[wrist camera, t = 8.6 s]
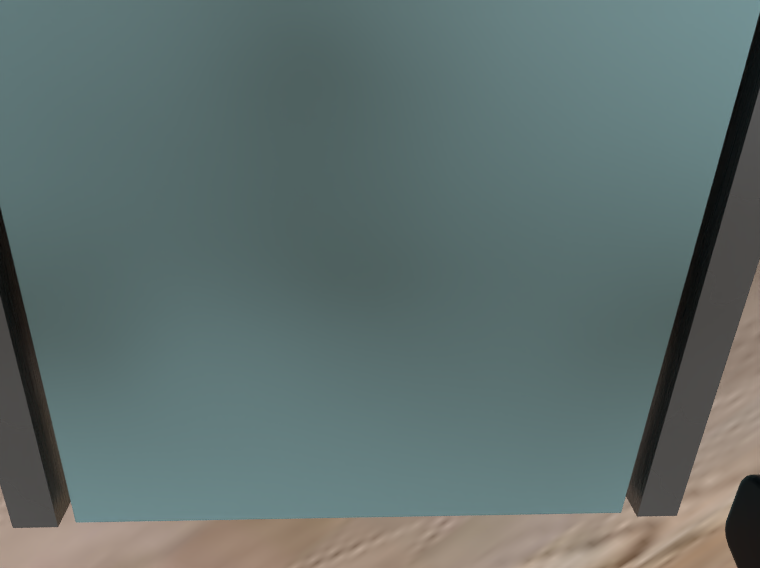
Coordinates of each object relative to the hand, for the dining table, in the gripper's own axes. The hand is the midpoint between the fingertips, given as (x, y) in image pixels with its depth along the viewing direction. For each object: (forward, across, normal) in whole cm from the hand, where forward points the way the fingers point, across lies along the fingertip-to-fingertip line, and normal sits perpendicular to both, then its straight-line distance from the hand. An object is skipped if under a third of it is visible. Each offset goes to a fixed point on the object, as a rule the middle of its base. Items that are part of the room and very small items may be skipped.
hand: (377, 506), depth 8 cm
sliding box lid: (+8, 0, -3) cm, 8 cm away
